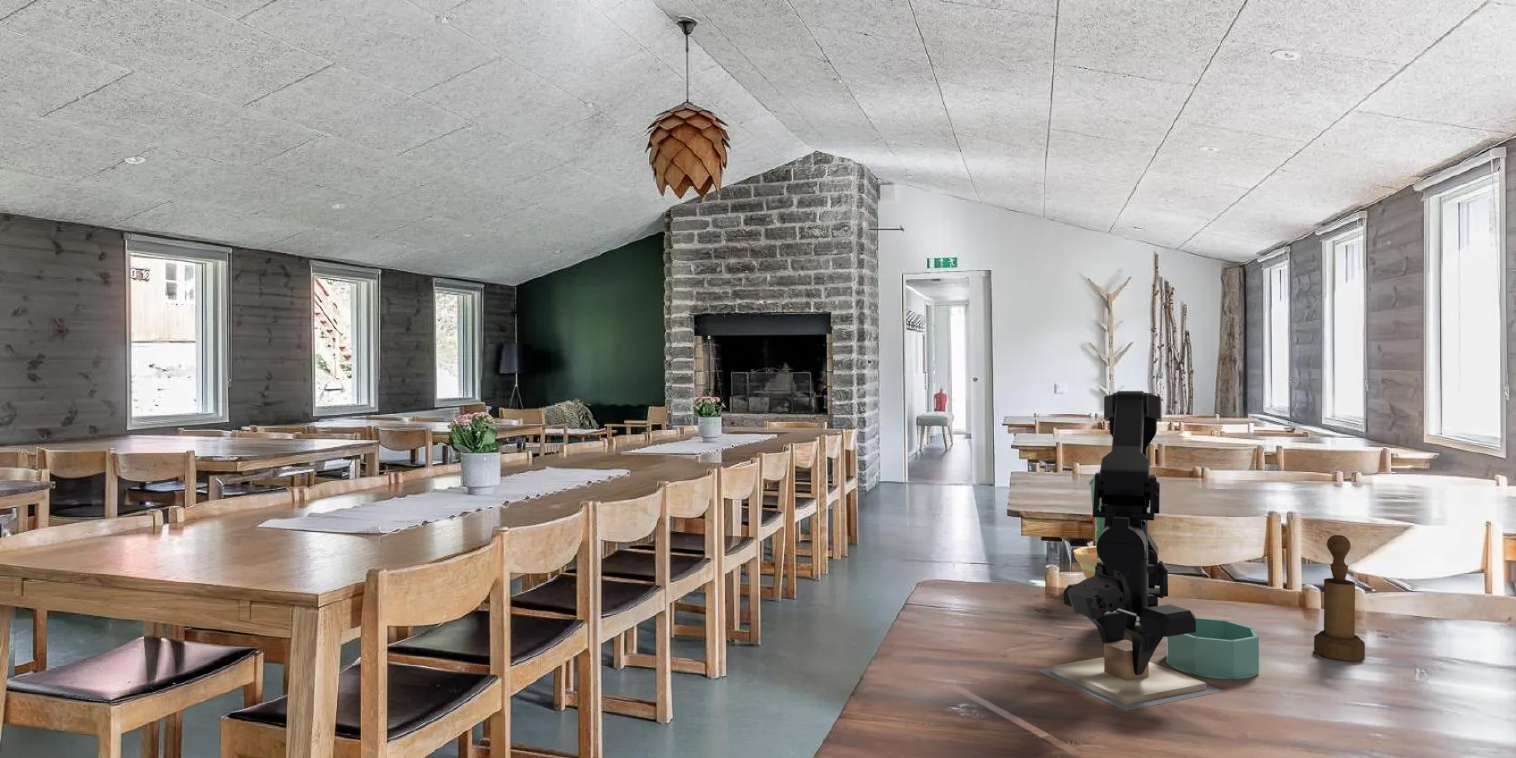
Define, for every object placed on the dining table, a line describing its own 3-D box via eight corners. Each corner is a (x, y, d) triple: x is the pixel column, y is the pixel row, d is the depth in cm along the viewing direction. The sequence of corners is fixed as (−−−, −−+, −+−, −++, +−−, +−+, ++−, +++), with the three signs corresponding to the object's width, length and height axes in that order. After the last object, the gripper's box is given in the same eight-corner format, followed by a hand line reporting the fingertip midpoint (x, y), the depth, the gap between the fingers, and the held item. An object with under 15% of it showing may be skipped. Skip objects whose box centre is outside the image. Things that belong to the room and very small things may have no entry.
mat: (1035, 674, 128) (1035, 669, 128) (1126, 658, 135) (1126, 654, 135) (1125, 715, 113) (1125, 710, 113) (1224, 695, 119) (1224, 691, 119)
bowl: (1147, 663, 133) (1147, 622, 133) (1206, 653, 138) (1206, 613, 138) (1216, 689, 122) (1216, 645, 122) (1278, 677, 127) (1278, 634, 127)
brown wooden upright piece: (1373, 662, 132) (1372, 540, 132) (1324, 660, 133) (1324, 539, 133) (1353, 648, 139) (1352, 532, 139) (1306, 646, 140) (1306, 531, 140)
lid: (1051, 671, 128) (1050, 637, 128) (1126, 658, 133) (1126, 626, 133) (1125, 704, 115) (1125, 667, 115) (1206, 689, 120) (1206, 653, 120)
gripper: (1033, 549, 129) (1034, 657, 129) (1132, 576, 112) (1133, 701, 112) (1093, 543, 134) (1094, 648, 134) (1198, 567, 116) (1199, 688, 116)
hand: (1126, 669), depth 124 cm, fingers closed on lid, 4 cm apart
